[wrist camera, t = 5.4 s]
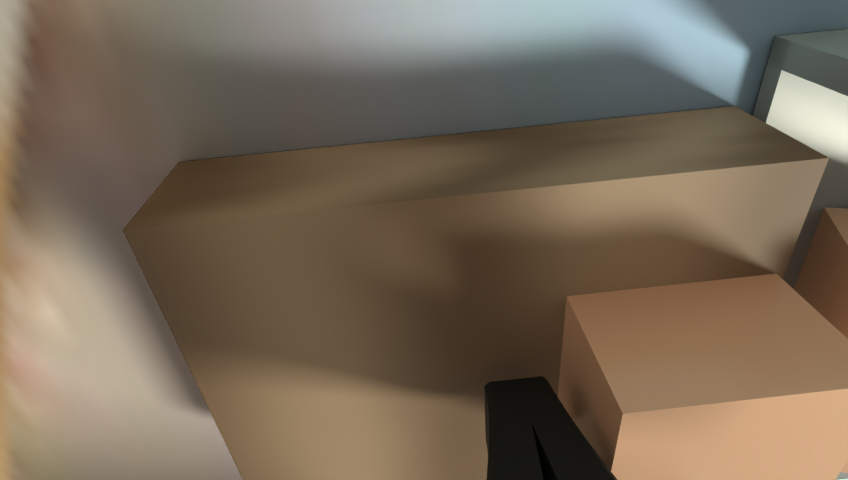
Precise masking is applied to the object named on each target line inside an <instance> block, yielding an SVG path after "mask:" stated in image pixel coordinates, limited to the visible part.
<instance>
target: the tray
mask: <svg viewBox="0 0 848 480" xmlns="http://www.w3.org/2000/svg"><path fill="white" fill-rule="evenodd" d="M752 116H754V117H756V118H758V119H760V120H761V121H763V122H765V123H767V124H769V125H770V126H772V127H774V128H776V129H778V130H779V131H781V132H783V133H785V134H787V135H789V136H790V137H792V138H794V139H796V140H798V141H799V142H801V143H803V144H805V145H807V146H808V147H810V148H812V149H814V150H816V151H818V152H819V153H821V154H823V155H825V156H827V157H828V158H829V160H828V162H827V165H826V167H825V170H824V173H823V175H822V178H821V180H820V183H819V185H818V188H817V191H816V193H815V196H814V198H813V201H812V203H811V206H810V209H809V211H808V214H807V216H806V219H805V221H804V224H803V227H802V229H801V232H800V234H799V237H798V239H797V242H796V245H795V247H794V250H793V252H792V255H791V257H790V260H789V263H788V265H787V268H786V270H785V273H784V275H783V278H782V279H783V280H784V281H785V282H786V283H787V284H788V285H789V286H790V287H792V288H793V289H794V287H795V284H796V282H797V279H798V276H799V274H800V271H801V268H802V266H803V263H804V260H805V258H806V255H807V252H808V250H809V247H810V244H811V242H812V239H813V236H814V234H815V231H816V228H817V226H818V223H819V220H820V217H821V215H822V212H823V209H824V207H827V208H845V209H848V29H841V30H831V31H821V32H811V33H801V34H791V35H781V36H775V38H774V41H773V45H772V48H771V52H770V56H769V59H768V63H767V66H766V70H765V73H764V77H763V80H762V84H761V87H760V91H759V94H758V98H757V101H756V105H755V108H754V112H753V115H752ZM846 478H848V473H844V472H840V473H839V475H838V476H837V478H836V479H835V480H837V479H846Z"/></svg>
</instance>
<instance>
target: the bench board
mask: <svg viewBox="0 0 848 480" xmlns="http://www.w3.org/2000/svg"><path fill="white" fill-rule="evenodd" d="M828 160H829V158H828V157H827V156H825V155H823V154H821V153H819V152H818V151H816V150H814V149H812V148H810V147H808V146H807V145H805V144H803V143H801V142H799V141H798V140H796V139H794V138H792V137H790V136H789V135H787V134H785V133H783V132H781V131H779V130H778V129H776V128H774V127H772V126H770V125H769V124H767V123H765V122H763V121H761V120H760V119H758V118H756V117H754V116H752V115H750V114H749V113H747V112H745V111H743V110H741V109H740V108H738V107H736V106H728V107H718V108H708V109H698V110H688V111H678V112H668V113H658V114H648V115H638V116H629V117H619V118H609V119H599V120H589V121H579V122H569V123H559V124H549V125H539V126H529V127H520V128H510V129H500V130H490V131H480V132H470V133H460V134H450V135H440V136H430V137H420V138H411V139H401V140H391V141H381V142H371V143H361V144H351V145H341V146H331V147H321V148H311V149H302V150H292V151H282V152H272V153H262V154H252V155H242V156H232V157H222V158H212V159H202V160H193V161H183V162H179V163H178V164H177V165H176V166H175V168H174V169H173V170H172V171H171V172H170V174H169V175H168V176H167V177H166V179H165V180H164V181H163V182H162V183H161V185H160V186H159V187H158V188H157V189H156V191H155V192H154V193H153V194H152V195H151V197H150V198H149V199H148V200H147V201H146V203H145V204H144V205H143V206H142V207H141V209H140V210H139V211H138V212H137V214H136V215H135V216H134V217H133V218H132V220H131V221H130V222H129V223H128V224H127V226H126V227H125V228H124V229H123V232H124V234H125V236H126V238H127V240H128V242H129V244H130V246H131V248H132V250H133V252H134V254H135V256H136V259H137V261H138V263H139V265H140V267H141V269H142V271H143V273H144V275H145V277H146V279H147V281H148V283H149V286H150V288H151V290H152V292H153V294H154V296H155V298H156V300H157V302H158V304H159V306H160V308H161V310H162V312H163V315H164V317H165V319H166V321H167V323H168V325H169V327H170V329H171V331H172V333H173V335H174V337H175V339H176V342H177V344H178V346H179V348H180V350H181V352H182V354H183V356H184V358H185V360H186V362H187V364H188V366H189V368H190V371H191V373H192V375H193V377H194V379H195V381H196V383H197V385H198V387H199V389H200V391H201V393H202V395H203V398H204V400H205V402H206V404H207V406H208V408H209V410H210V412H211V414H212V416H213V418H214V420H215V422H216V425H217V427H218V429H219V431H220V433H221V435H222V437H223V439H224V441H225V443H226V445H227V447H228V449H229V451H230V454H231V456H232V458H233V460H234V462H235V464H236V466H237V468H238V470H239V472H240V474H241V476H242V478H243V480H487V465H488V451H487V444H486V432H485V395H484V386H485V385H486V384H487V383H489V382H493V381H502V380H512V379H521V378H530V377H539V376H543V377H544V378H546V379H547V380H548V382H549V384H550V385H551V387H552V389H553V390H554V392H555V394H556V395H557V397H558V387H559V375H560V364H561V353H562V342H563V331H564V320H565V309H566V298H567V296H574V295H583V294H592V293H601V292H610V291H620V290H629V289H638V288H647V287H657V286H666V285H675V284H685V283H694V282H703V281H712V280H722V279H731V278H740V277H749V276H759V275H768V274H777V275H778V276H780V277H781V278H783V275H784V273H785V270H786V268H787V265H788V263H789V260H790V257H791V255H792V252H793V250H794V247H795V245H796V242H797V239H798V237H799V234H800V232H801V229H802V227H803V224H804V221H805V219H806V216H807V214H808V211H809V209H810V206H811V203H812V201H813V198H814V196H815V193H816V191H817V188H818V185H819V183H820V180H821V178H822V175H823V173H824V170H825V167H826V165H827V162H828Z"/></svg>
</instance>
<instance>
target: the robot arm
mask: <svg viewBox="0 0 848 480" xmlns="http://www.w3.org/2000/svg"><path fill="white" fill-rule="evenodd" d="M484 395H485V432H486V444H487V451H488V465H487V480H617V478H616V477H615V476H614V475H613V473H612V472H611V471H610V470H609V468H608V467H607V466H606V464H605V463H604V462H603V460H602V459H601V458H600V457H599V455H598V454H597V453H596V451H595V450H594V449H593V447H592V446H591V445H590V443H589V442H588V441H587V439H586V438H585V437H584V435H583V434H582V432H581V431H580V430H579V428H578V427H577V425H576V424H575V422H574V421H573V420H572V418H571V417H570V415H569V414H568V412H567V411H566V409H565V408H564V406H563V405H562V403H561V402H560V400H559V398H558V397H557V395H556V394H555V392H554V390H553V389H552V387H551V385H550V384H549V382H548V380H547V379H546V378H544V377H543V376H539V377H530V378H521V379H512V380H502V381H493V382H489V383H487V384H486V385H485V386H484Z"/></svg>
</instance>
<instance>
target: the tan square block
mask: <svg viewBox="0 0 848 480" xmlns="http://www.w3.org/2000/svg"><path fill="white" fill-rule="evenodd" d="M794 290H795V291H796V292H797V293H798V294H799V295H800V296H801V297H802V298H804V299H805V300H806V301H807V302H808V303H809V304H810V305H811V306H812V307H813V308H814V309H816V310H817V311H818V312H819V313H820V314H821V315H822V316H823V317H824V318H825V319H826V320H828V321H829V322H830V323H831V324H832V325H833V326H834V327H835V328H836V329H837V330H838V331H840V332H841V333H842V334H843V335H844V336H845V337H846V338H847V339H848V209H845V208H827V207H824V209H823V212H822V215H821V217H820V220H819V223H818V226H817V228H816V231H815V234H814V236H813V239H812V242H811V244H810V247H809V250H808V252H807V255H806V258H805V260H804V263H803V266H802V268H801V271H800V274H799V276H798V279H797V282H796V284H795V287H794ZM840 472H844V473H848V460H847V462H846V463H845V465H844V467H843V468H842V470H841V471H840Z"/></svg>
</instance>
